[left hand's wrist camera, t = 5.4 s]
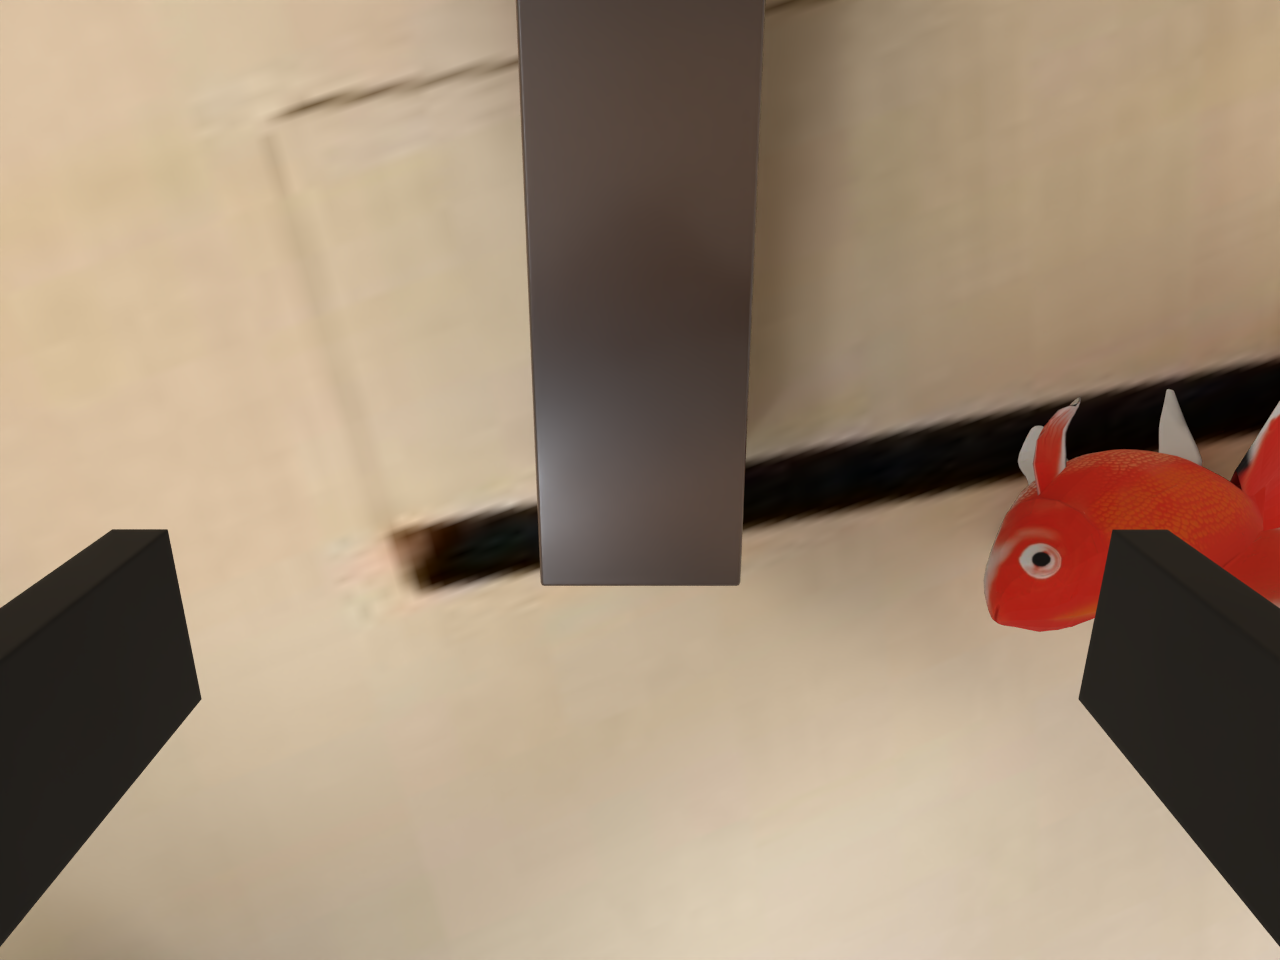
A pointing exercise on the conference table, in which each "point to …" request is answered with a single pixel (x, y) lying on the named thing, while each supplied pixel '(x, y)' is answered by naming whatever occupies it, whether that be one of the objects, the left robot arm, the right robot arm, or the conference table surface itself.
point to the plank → (640, 281)
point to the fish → (1128, 517)
